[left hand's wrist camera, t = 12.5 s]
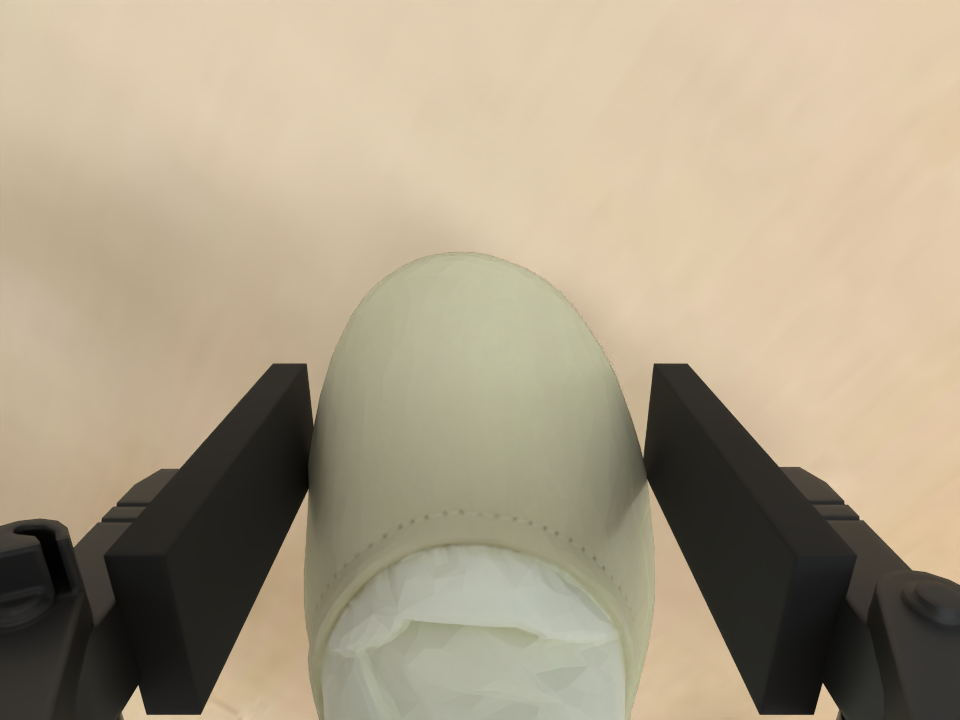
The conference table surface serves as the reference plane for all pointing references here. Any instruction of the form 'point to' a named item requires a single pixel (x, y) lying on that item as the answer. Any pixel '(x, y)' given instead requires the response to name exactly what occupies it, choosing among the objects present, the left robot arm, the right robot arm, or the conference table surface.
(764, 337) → the conference table surface
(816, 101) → the conference table surface
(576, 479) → the ballet flat
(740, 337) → the conference table surface
